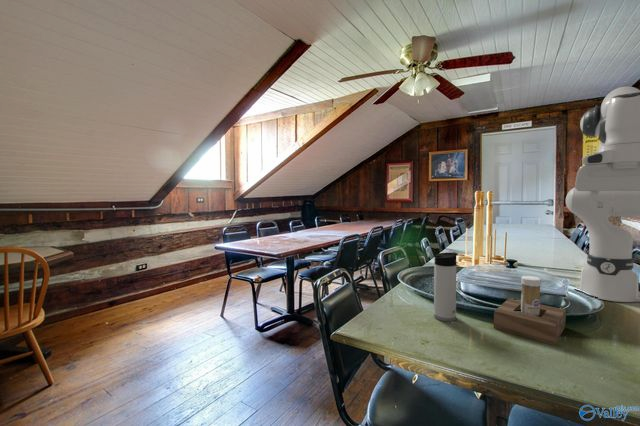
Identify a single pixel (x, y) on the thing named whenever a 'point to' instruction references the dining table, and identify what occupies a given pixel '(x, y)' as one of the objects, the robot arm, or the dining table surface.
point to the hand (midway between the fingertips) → (622, 208)
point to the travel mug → (445, 286)
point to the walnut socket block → (530, 321)
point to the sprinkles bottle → (530, 295)
